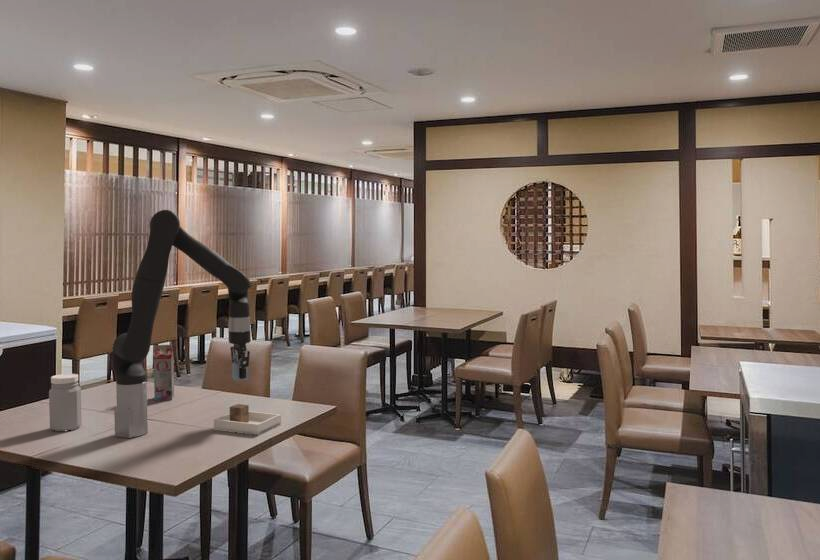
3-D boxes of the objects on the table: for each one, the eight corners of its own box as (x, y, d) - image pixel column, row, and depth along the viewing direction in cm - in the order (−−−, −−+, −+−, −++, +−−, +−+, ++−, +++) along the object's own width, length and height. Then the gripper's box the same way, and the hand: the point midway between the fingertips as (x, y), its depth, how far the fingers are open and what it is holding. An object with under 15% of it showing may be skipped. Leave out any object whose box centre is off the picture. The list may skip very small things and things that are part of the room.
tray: (258, 435, 209) (258, 424, 208) (214, 429, 215) (213, 419, 215) (280, 424, 221) (280, 414, 221) (238, 419, 227) (238, 410, 227)
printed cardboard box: (172, 400, 257) (171, 345, 256) (154, 401, 255) (153, 346, 254) (174, 396, 263) (173, 343, 262) (157, 397, 262) (156, 344, 260)
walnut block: (229, 424, 218) (229, 407, 218) (237, 421, 222) (237, 404, 222) (241, 425, 216) (240, 408, 216) (248, 422, 221) (248, 405, 220)
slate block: (236, 381, 224) (235, 364, 223) (232, 379, 228) (231, 362, 227) (248, 379, 226) (248, 363, 226) (244, 377, 230) (244, 361, 230)
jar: (65, 433, 210) (64, 379, 210) (42, 431, 213) (41, 377, 212) (88, 425, 220) (87, 374, 219) (66, 423, 223) (64, 372, 222)
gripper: (222, 328, 230) (223, 375, 231) (235, 332, 218) (236, 382, 219) (243, 326, 234) (243, 372, 235) (256, 330, 222) (257, 379, 223)
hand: (240, 377), depth 227 cm, fingers closed on slate block, 4 cm apart
